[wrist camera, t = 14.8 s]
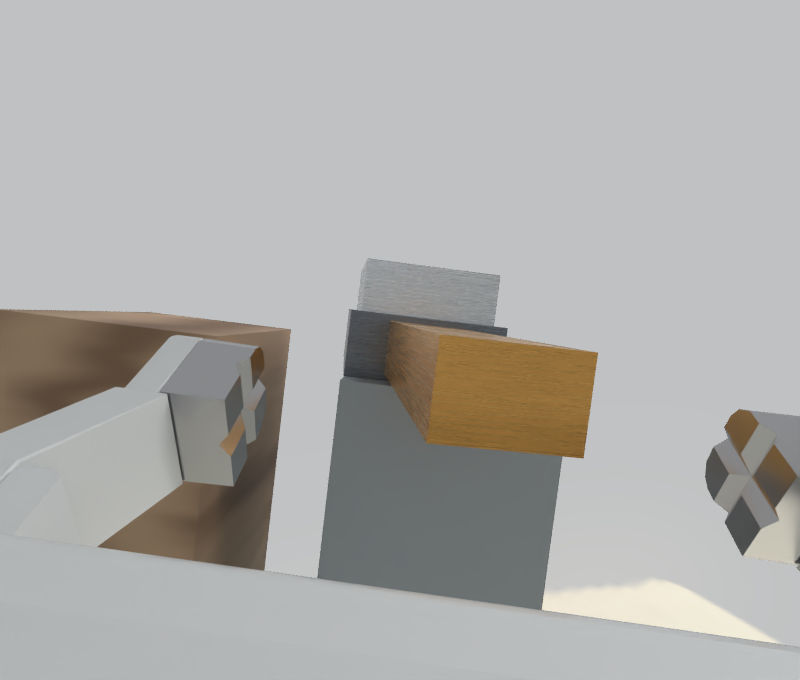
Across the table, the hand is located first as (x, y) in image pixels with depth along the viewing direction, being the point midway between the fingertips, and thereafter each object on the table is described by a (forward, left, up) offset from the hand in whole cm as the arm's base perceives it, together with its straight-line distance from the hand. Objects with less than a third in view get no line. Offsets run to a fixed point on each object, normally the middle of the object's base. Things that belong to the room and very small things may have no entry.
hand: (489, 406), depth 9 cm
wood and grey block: (+1, -10, -1) cm, 10 cm away
